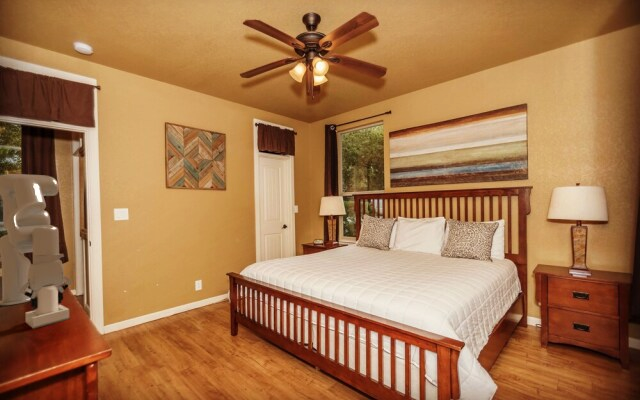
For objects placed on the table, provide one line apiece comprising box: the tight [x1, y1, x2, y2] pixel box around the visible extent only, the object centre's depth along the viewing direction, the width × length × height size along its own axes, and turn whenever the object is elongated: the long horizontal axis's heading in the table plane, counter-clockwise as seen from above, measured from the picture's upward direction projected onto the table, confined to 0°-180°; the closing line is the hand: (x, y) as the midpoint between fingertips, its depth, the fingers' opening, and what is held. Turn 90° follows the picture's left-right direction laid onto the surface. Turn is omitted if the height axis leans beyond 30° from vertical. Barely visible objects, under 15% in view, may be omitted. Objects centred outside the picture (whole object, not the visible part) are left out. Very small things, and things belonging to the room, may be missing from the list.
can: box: [35, 284, 59, 316], centre depth 116 cm, size 6×6×12 cm
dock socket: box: [25, 304, 70, 329], centre depth 116 cm, size 10×10×4 cm
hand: (47, 304), depth 116 cm, fingers closed on can, 6 cm apart
